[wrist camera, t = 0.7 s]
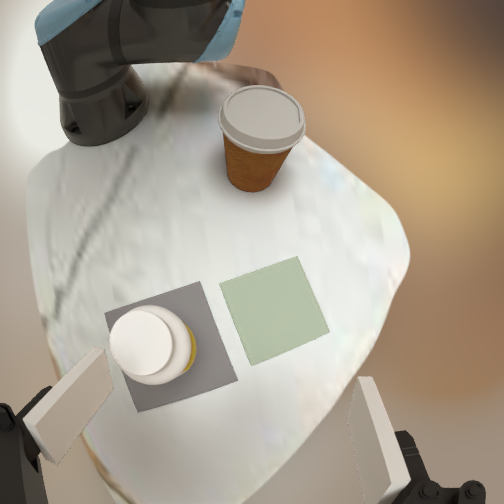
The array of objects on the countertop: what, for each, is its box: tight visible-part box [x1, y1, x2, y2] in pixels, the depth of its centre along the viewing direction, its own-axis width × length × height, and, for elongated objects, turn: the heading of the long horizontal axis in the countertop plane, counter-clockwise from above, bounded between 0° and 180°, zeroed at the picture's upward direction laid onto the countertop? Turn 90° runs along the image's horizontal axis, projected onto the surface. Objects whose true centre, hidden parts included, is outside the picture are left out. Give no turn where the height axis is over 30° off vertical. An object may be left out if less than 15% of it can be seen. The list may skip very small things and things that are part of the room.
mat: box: [220, 256, 330, 366], centre depth 34 cm, size 10×10×1 cm
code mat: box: [105, 281, 238, 412], centre depth 31 cm, size 12×12×1 cm
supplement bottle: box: [109, 305, 197, 385], centre depth 25 cm, size 7×7×13 cm
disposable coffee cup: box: [218, 85, 306, 192], centre depth 34 cm, size 10×10×12 cm
